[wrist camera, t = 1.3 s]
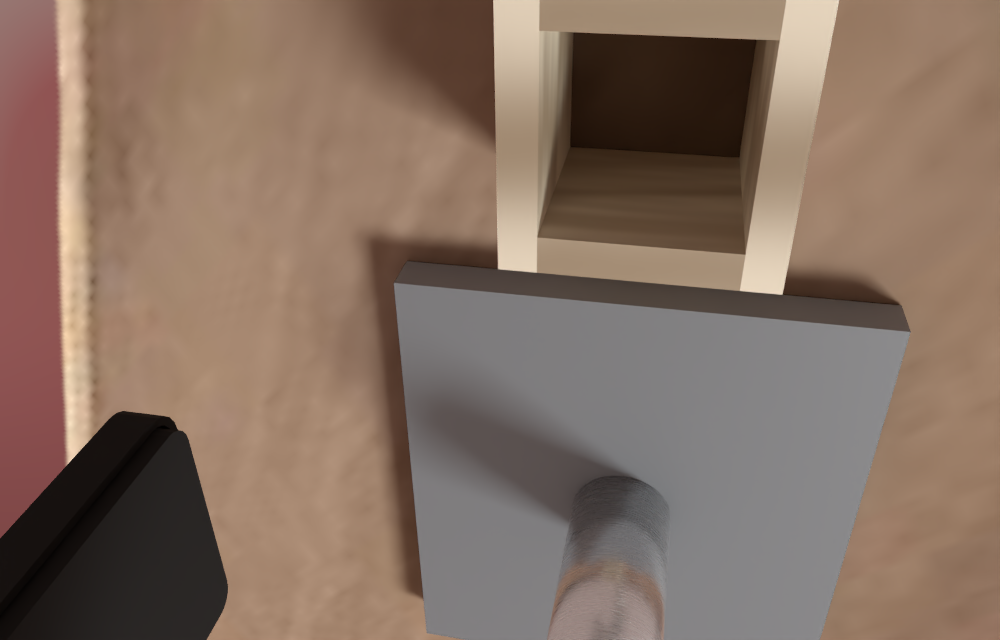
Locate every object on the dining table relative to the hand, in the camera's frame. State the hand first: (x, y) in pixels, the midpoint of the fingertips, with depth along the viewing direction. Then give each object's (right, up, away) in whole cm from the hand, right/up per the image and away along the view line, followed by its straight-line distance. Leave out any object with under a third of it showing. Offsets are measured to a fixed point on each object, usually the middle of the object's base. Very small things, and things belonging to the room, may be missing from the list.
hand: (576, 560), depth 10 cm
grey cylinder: (+4, -4, +22) cm, 23 cm away
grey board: (+4, -4, +23) cm, 24 cm away
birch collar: (+4, +10, +15) cm, 18 cm away
